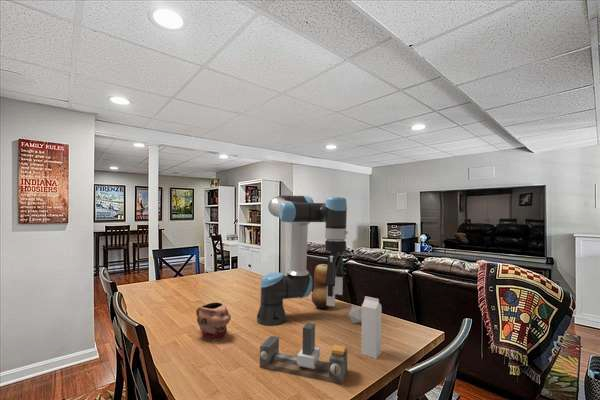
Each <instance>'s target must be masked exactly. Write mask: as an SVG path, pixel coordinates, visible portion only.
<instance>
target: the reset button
mask: <svg viewBox="0 0 600 400" xmlns="http://www.w3.org/2000/svg"><path fill="white" fill-rule="evenodd" d="M345 350H346V346H345V345H338V344H333V347H332V349H331V354H332V353H334V355H336V356H342V357H343V355H344V352H345Z"/></svg>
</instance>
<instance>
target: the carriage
mask: <svg viewBox="0 0 600 400" xmlns="http://www.w3.org/2000/svg"><path fill="white" fill-rule="evenodd" d="M320 353H321V348H320V347H316V324H315V323H312V322H306V323H305V325H304V326H303V327H302V348H301V349H300V351H299V352H298V353H297V355H296V356H297V364H298V366H301V367H306V368H311V369H315V368H316V362H317V361H320V359H319V358H320V356H321V354H320Z"/></svg>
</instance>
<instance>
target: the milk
mask: <svg viewBox="0 0 600 400" xmlns="http://www.w3.org/2000/svg"><path fill="white" fill-rule="evenodd" d="M361 307H362V323H361V355H363V356H366V357H370V358H371V359H375V360H376V359H377V358H378V357H379V356H380V355H381V354H382V352H383V351H382V348H383V347H382V341H383V340H382V304H381V303H380V299H379V298H376V297H371V296H367V295H366V296H364V300H363V303H362V304H361Z"/></svg>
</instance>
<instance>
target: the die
mask: <svg viewBox="0 0 600 400" xmlns="http://www.w3.org/2000/svg"><path fill="white" fill-rule="evenodd" d="M348 317H349V319H350V322H351V323H352V324H362V305H361V306H360V305H359V306H357V305H352V306H351V307H350V309H349V311H348Z"/></svg>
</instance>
